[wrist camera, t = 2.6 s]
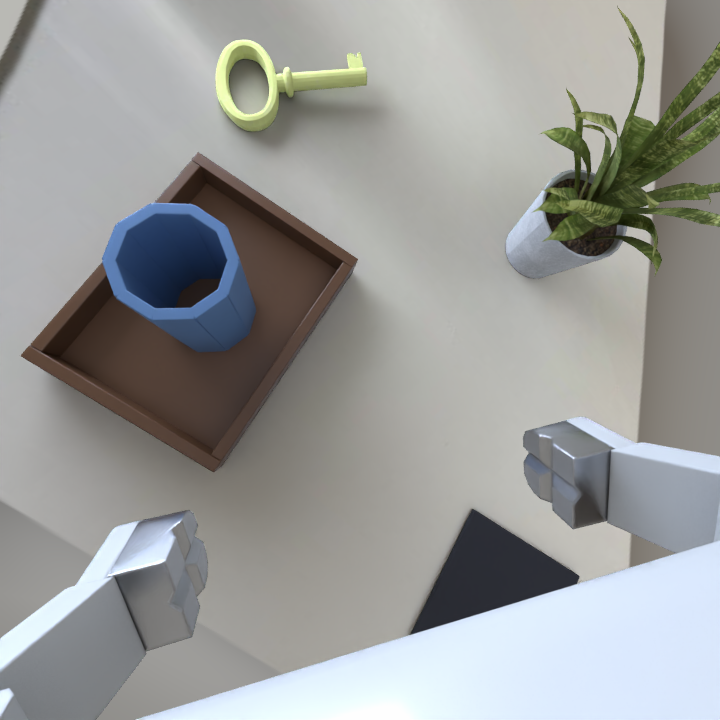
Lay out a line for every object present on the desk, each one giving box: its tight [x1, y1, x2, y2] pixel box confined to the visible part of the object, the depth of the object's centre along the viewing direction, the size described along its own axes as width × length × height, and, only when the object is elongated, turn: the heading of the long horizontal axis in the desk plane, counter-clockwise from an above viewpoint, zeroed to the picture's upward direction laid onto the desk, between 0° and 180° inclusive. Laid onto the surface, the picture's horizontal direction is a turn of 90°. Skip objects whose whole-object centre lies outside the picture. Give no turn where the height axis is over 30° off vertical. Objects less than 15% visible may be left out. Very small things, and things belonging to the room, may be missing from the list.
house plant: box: [506, 6, 720, 278], centre depth 25 cm, size 14×14×16 cm
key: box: [216, 40, 367, 131], centre depth 30 cm, size 7×12×2 cm, turn 119°
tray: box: [21, 152, 358, 472], centre depth 26 cm, size 18×14×2 cm
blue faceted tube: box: [102, 203, 256, 352], centre depth 22 cm, size 6×6×9 cm
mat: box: [411, 509, 579, 635], centre depth 28 cm, size 10×10×1 cm
